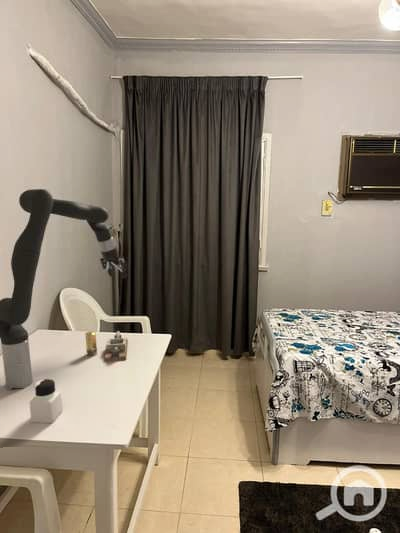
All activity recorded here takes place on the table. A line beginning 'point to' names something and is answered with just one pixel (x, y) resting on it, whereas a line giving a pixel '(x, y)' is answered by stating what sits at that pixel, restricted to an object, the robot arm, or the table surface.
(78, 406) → the table surface
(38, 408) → the medicine bottle
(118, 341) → the shaft rig
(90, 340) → the ball
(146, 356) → the table surface
